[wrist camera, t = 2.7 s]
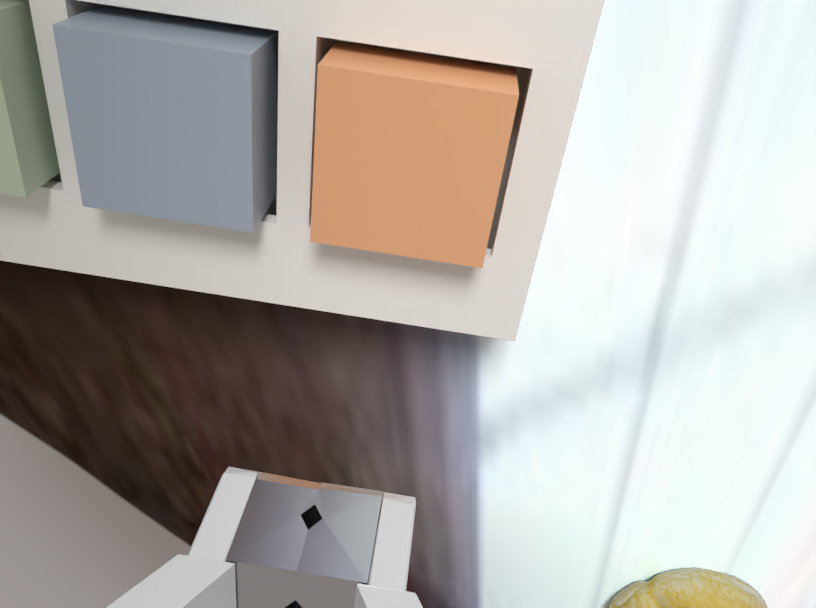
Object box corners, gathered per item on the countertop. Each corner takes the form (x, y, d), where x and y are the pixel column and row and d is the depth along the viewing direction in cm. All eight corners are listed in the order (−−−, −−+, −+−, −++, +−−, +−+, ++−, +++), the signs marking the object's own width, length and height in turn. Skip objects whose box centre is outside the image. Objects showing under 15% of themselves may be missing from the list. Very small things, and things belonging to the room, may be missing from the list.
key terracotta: (336, 40, 23) (317, 64, 20) (515, 67, 22) (519, 95, 20) (327, 203, 26) (310, 241, 23) (483, 227, 26) (482, 268, 23)
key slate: (100, 5, 23) (52, 24, 20) (277, 32, 23) (251, 54, 20) (121, 172, 26) (82, 206, 24) (275, 196, 26) (253, 232, 23)
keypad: (-173, -181, 23) (-286, -186, 19) (599, -68, 22) (618, -54, 19) (-60, 198, 31) (-127, 240, 27) (512, 287, 30) (514, 341, 27)
